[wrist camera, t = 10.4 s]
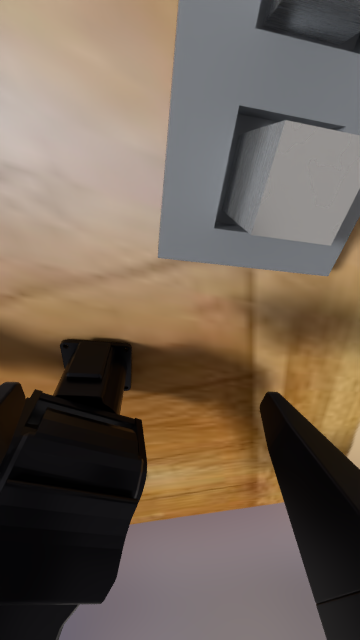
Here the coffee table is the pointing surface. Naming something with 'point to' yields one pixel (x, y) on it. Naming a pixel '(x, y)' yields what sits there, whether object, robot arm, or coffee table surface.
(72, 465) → the robot arm
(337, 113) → the pallet
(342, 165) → the billet
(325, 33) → the block
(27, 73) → the coffee table surface
